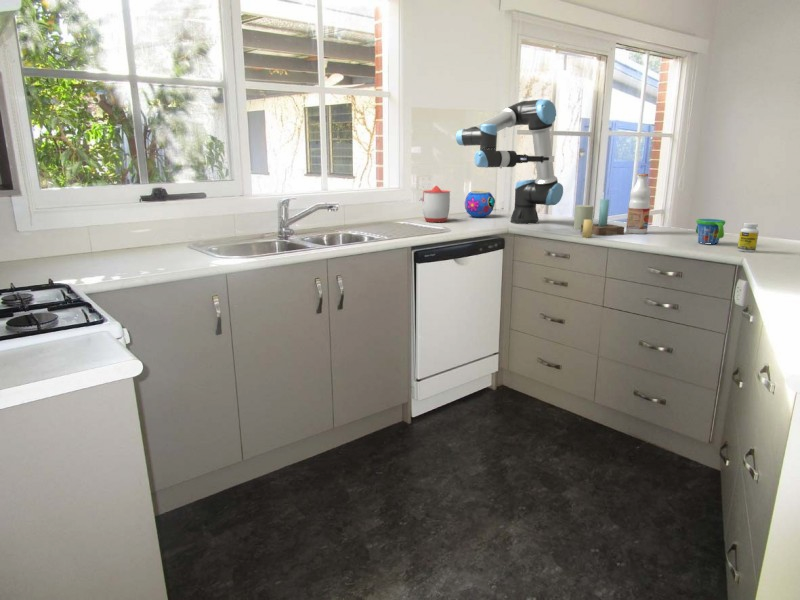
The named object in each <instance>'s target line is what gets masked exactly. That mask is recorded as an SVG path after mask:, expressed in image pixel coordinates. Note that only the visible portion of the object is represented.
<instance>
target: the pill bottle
mask: <svg viewBox="0 0 800 600" xmlns="http://www.w3.org/2000/svg"><path fill="white" fill-rule="evenodd" d="M758 225H759V224H758V223H757V222H744V223H743V228H741V229H740V232H739V238H738V244H737V250H739V252H742V251H744V252H743V253H754V252H756V249H757V245H758V244H757V243H758V238H759V237H758V236H759V229H757V228H758Z"/></svg>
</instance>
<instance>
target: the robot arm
mask: <svg viewBox="0 0 800 600" xmlns="http://www.w3.org/2000/svg"><path fill="white" fill-rule="evenodd" d="M556 117H557V109H556V106H555V104H554V103H553V102H552V101H551V100H549V99H532V100H531V99H530V100H523V101H520V102H517V103H514V104H512V105H510V106H508V107H505V108H504V109H502V111H501V112H500V113H498V114H496V115H494V116H492V117H490V118H488V119H486V120H483V121H481V122H479V123H477V124H475V125H472V126H471V127H469V128H466V129H465V128H463V129H459V130H457V131H456V134H455V141H456V143H457V144H458V145H459V146H464V147H466V146H468V147H469V146H480V147H479V150H477V151H476V152H475V154H474V159H473V160H474V164H475V166H476V167H478V168H499V169H502V168H514V167H515V166H516V165H517V164H522V163H523V164H525V163H526V164H527V163H530V162H532V163H533V162H535V170H536V171H535V172H536V179H526V180H525V179H524V180H519V181H516V182H515V188H514V191H515V192H514V209H513V212H512V214H511V216H510V223H512V222H515V223H514V224H519V223H526V224H527V225H529V224H528V223H534V224H538V223H539V220H540V219H539V215H538V212H537V211H538V210H537V205H543V206H556V205H557V204H559V203H560V201H561V200H562V197H563V195H564V186H563V184H562V183H560V182H558V177H557V176H555V173H554V172H555V171H554V162H555V155H553V151H552V139H551V132H550V129H551V128H552V127H553V123H554V122H555V121H556ZM514 126H515V127H516V126H528V131H530V132H531V134H532V145H533V150H534V151H533V153H534V155H529V154H528V155H527V154H525V153H524V154H517V152H516V151H515V150H497V144H498V132H500V131H502V130H504V129H506V128H512V127H514ZM526 224H525V225H526Z"/></svg>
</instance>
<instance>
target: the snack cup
mask: <svg viewBox="0 0 800 600" xmlns="http://www.w3.org/2000/svg"><path fill="white" fill-rule="evenodd" d="M696 224H697V226H696V228H695V233H696V234H697V242H702V243H711V244H713V245H716V244H715V243H718V244H719V242H720V239H723V238H724V236H725V231H724V226H725V224H726V220H724V219H717V218H698V219H697V220H696Z"/></svg>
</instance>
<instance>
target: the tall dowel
mask: <svg viewBox="0 0 800 600" xmlns="http://www.w3.org/2000/svg"><path fill="white" fill-rule="evenodd" d="M599 201H600V202H599V210H598V211H599V212H598V223H597V224H598V226H600V227H607V224H608V217H609V209H610V207H609V206H610V199H606V198H605V199H604V198H602V199H601V198H600V200H599Z"/></svg>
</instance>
